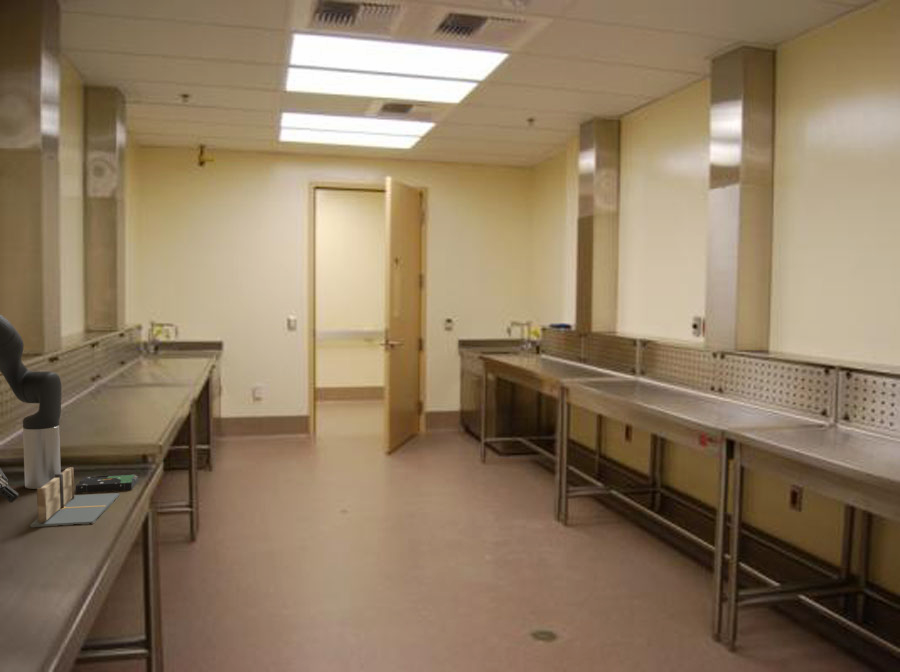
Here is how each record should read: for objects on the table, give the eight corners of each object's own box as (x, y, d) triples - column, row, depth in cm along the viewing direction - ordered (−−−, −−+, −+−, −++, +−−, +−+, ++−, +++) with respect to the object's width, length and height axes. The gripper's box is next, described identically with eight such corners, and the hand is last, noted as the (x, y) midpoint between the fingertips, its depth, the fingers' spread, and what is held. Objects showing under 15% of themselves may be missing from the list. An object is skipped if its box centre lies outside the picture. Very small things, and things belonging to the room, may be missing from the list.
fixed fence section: (68, 500, 197) (67, 465, 197) (75, 499, 198) (74, 465, 197) (55, 511, 187) (53, 475, 187) (62, 511, 187) (61, 474, 187)
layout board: (65, 497, 199) (64, 495, 199) (119, 495, 202) (119, 493, 202) (30, 527, 175) (30, 524, 175) (93, 523, 178) (92, 521, 178)
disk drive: (75, 495, 204) (132, 491, 208) (75, 485, 204) (132, 481, 207) (84, 486, 214) (138, 482, 218) (83, 476, 214) (138, 472, 217)
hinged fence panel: (54, 508, 186) (53, 477, 186) (61, 508, 187) (60, 476, 186) (36, 523, 175) (35, 489, 174) (44, 522, 175) (43, 489, 175)
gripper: (-43, 445, 165) (19, 494, 169) (-22, 434, 178) (35, 480, 182) (-69, 470, 164) (-6, 519, 168) (-46, 457, 177) (12, 503, 181)
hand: (15, 498), depth 175 cm, fingers closed
